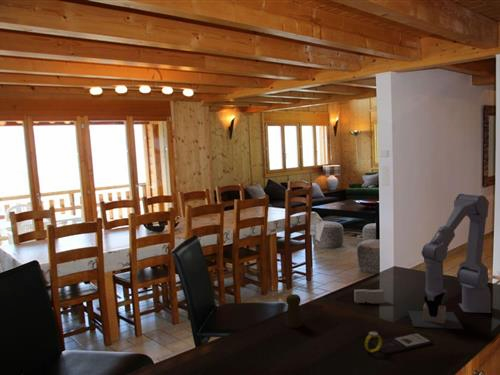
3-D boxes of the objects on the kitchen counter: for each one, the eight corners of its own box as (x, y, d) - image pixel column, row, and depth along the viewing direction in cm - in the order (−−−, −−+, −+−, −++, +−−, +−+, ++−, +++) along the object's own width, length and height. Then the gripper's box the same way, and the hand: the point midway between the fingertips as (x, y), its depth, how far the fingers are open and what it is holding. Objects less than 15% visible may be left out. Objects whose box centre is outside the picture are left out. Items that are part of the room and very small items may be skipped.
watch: (377, 348, 139) (378, 330, 139) (383, 351, 137) (384, 333, 136) (362, 351, 137) (363, 332, 136) (368, 354, 134) (369, 336, 134)
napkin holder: (391, 301, 178) (391, 288, 178) (379, 310, 170) (379, 296, 169) (357, 295, 188) (357, 282, 187) (345, 303, 179) (344, 289, 179)
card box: (425, 316, 160) (425, 302, 159) (446, 319, 156) (445, 305, 155) (423, 320, 156) (422, 307, 156) (444, 323, 153) (444, 310, 152)
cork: (304, 322, 162) (303, 293, 160) (299, 328, 156) (298, 299, 155) (289, 320, 164) (288, 291, 163) (283, 326, 159) (282, 297, 158)
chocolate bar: (368, 341, 142) (414, 331, 148) (368, 344, 142) (414, 334, 148) (385, 353, 134) (433, 342, 139) (385, 356, 134) (433, 345, 139)
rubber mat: (453, 313, 162) (453, 312, 162) (463, 329, 149) (463, 327, 149) (408, 312, 166) (408, 310, 166) (414, 327, 152) (414, 326, 152)
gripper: (443, 284, 146) (443, 323, 148) (449, 272, 159) (450, 308, 160) (421, 281, 150) (421, 319, 152) (429, 270, 162) (429, 305, 164)
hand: (434, 313), depth 156 cm, fingers open, 5 cm apart
